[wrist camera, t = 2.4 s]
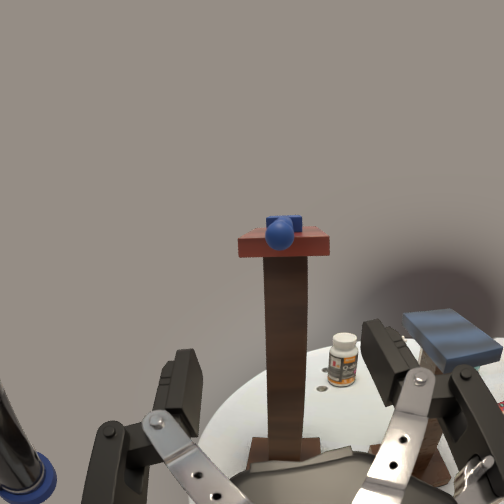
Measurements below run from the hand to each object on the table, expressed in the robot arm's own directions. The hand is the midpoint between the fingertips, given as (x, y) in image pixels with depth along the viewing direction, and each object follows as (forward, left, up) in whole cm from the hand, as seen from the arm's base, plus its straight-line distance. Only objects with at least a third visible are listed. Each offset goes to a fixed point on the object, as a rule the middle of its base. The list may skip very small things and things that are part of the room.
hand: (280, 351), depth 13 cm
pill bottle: (+37, +17, -28) cm, 50 cm away
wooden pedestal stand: (+12, +10, -28) cm, 32 cm away
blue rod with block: (+8, +7, +4) cm, 12 cm away
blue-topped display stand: (+21, -5, -28) cm, 35 cm away
